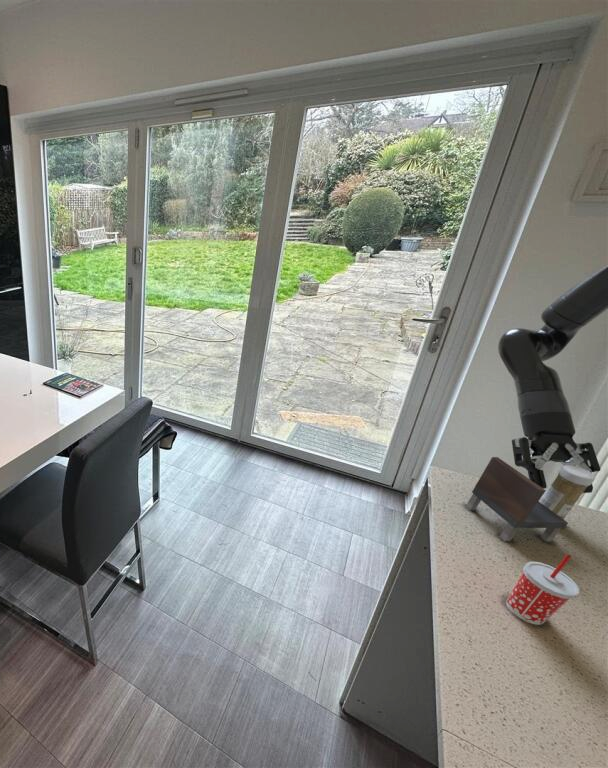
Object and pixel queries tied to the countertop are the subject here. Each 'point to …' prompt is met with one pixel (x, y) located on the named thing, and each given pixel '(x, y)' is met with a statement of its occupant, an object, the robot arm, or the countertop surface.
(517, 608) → the beverage cup
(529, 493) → the chair
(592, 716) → the countertop surface
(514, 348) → the robot arm
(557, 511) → the sprinkles bottle
